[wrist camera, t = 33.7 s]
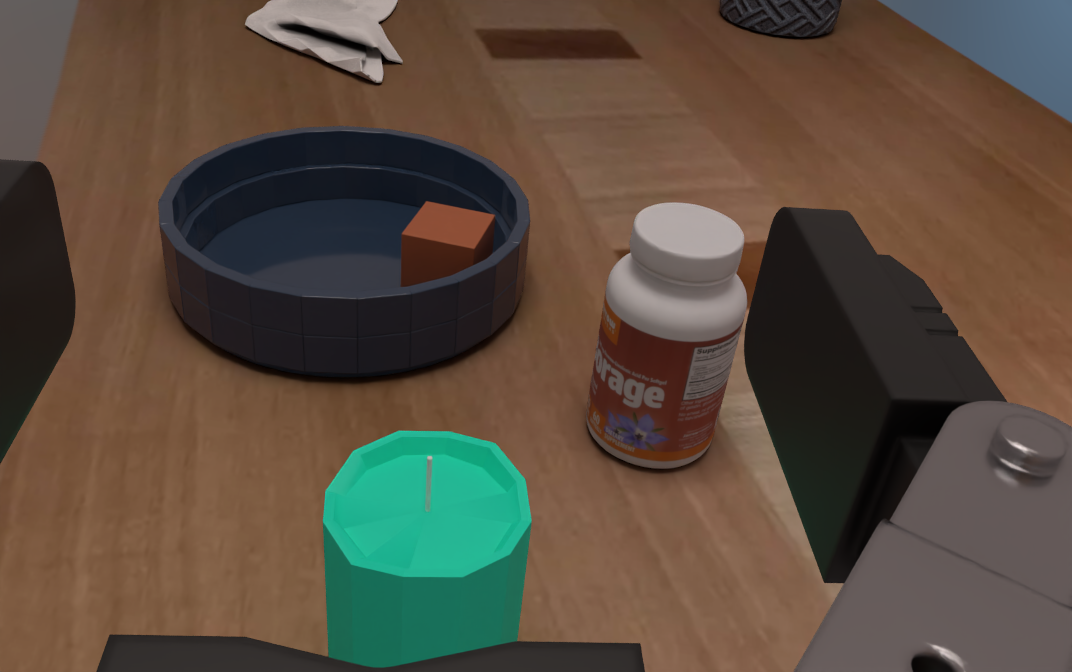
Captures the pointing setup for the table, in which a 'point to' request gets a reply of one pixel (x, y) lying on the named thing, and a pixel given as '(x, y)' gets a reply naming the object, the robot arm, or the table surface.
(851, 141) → the table surface
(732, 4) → the vase
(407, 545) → the candle
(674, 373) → the pill bottle
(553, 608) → the table surface
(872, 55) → the table surface
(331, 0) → the cloth
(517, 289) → the bowl
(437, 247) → the block
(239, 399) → the table surface
